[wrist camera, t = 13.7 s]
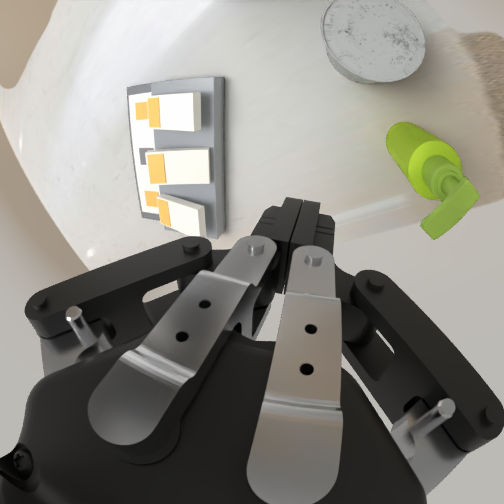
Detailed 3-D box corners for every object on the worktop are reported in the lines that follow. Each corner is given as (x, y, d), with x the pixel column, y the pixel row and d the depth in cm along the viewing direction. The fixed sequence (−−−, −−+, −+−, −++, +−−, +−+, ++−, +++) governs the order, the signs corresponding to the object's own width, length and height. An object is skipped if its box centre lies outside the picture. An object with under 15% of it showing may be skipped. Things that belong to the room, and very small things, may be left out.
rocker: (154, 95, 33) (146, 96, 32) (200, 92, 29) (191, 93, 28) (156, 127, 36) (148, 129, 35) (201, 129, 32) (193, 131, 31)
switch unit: (130, 86, 36) (116, 89, 33) (223, 77, 32) (213, 77, 30) (145, 215, 51) (134, 224, 48) (225, 228, 47) (217, 239, 44)
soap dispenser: (373, 149, 33) (404, 212, 17) (402, 113, 28) (465, 144, 13) (403, 176, 33) (448, 258, 17) (432, 142, 29) (505, 201, 13)
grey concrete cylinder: (368, 98, 29) (384, 103, 19) (311, 51, 27) (299, 34, 18) (412, 54, 23) (444, 42, 13) (354, 6, 22) (360, -27, 12)
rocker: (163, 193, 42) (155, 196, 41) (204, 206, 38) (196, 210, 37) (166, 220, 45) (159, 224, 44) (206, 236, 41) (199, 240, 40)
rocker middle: (148, 150, 36) (144, 153, 34) (209, 147, 36) (208, 149, 34) (152, 181, 38) (148, 185, 37) (210, 180, 39) (209, 184, 37)
